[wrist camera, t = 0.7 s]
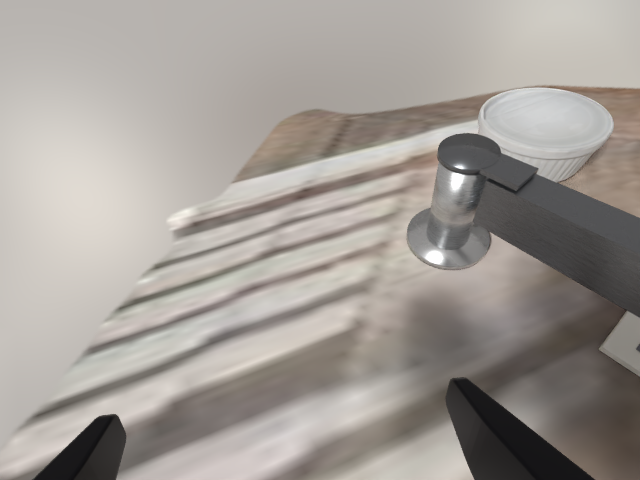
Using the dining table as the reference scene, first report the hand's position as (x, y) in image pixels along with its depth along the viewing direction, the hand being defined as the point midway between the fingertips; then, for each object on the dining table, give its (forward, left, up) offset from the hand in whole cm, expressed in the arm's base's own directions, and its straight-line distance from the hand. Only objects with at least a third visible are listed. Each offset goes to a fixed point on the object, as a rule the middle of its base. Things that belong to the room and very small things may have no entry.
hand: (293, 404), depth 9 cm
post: (+6, -19, -15) cm, 24 cm away
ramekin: (+7, -33, -15) cm, 37 cm away
